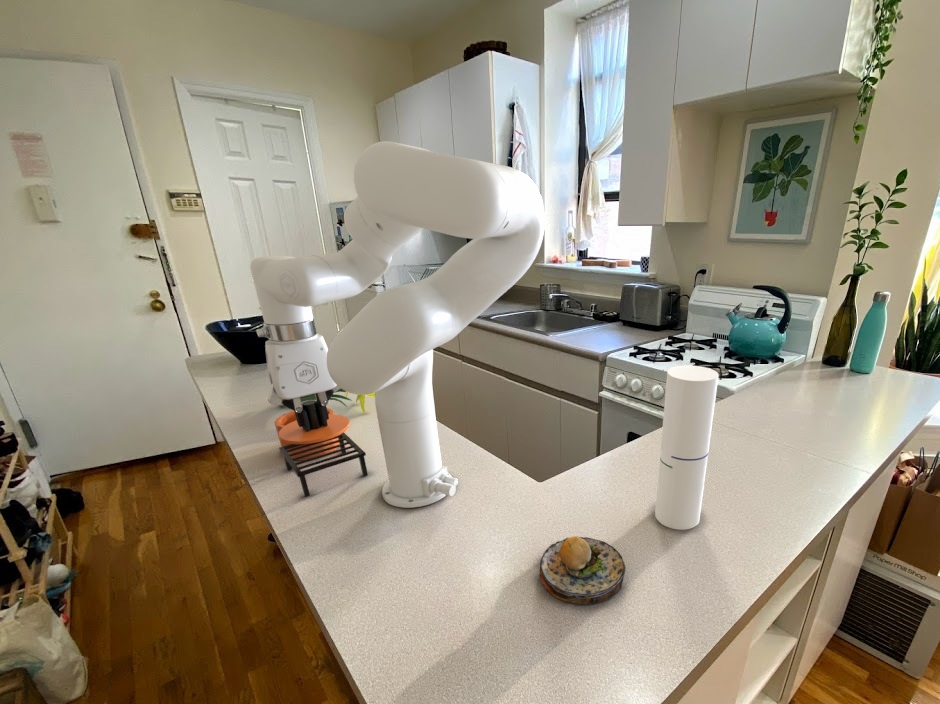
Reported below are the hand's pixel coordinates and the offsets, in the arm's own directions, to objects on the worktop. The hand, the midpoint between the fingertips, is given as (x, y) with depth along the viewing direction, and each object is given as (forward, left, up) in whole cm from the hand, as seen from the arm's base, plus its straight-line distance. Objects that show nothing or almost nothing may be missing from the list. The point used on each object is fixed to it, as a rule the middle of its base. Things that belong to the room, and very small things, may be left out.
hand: (314, 425), depth 88 cm
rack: (0, 0, -10) cm, 10 cm away
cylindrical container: (-66, -15, -10) cm, 69 cm away
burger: (-57, +4, -10) cm, 58 cm away
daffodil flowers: (+28, -23, -10) cm, 37 cm away
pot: (+12, -6, -10) cm, 17 cm away
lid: (0, 0, -1) cm, 1 cm away
